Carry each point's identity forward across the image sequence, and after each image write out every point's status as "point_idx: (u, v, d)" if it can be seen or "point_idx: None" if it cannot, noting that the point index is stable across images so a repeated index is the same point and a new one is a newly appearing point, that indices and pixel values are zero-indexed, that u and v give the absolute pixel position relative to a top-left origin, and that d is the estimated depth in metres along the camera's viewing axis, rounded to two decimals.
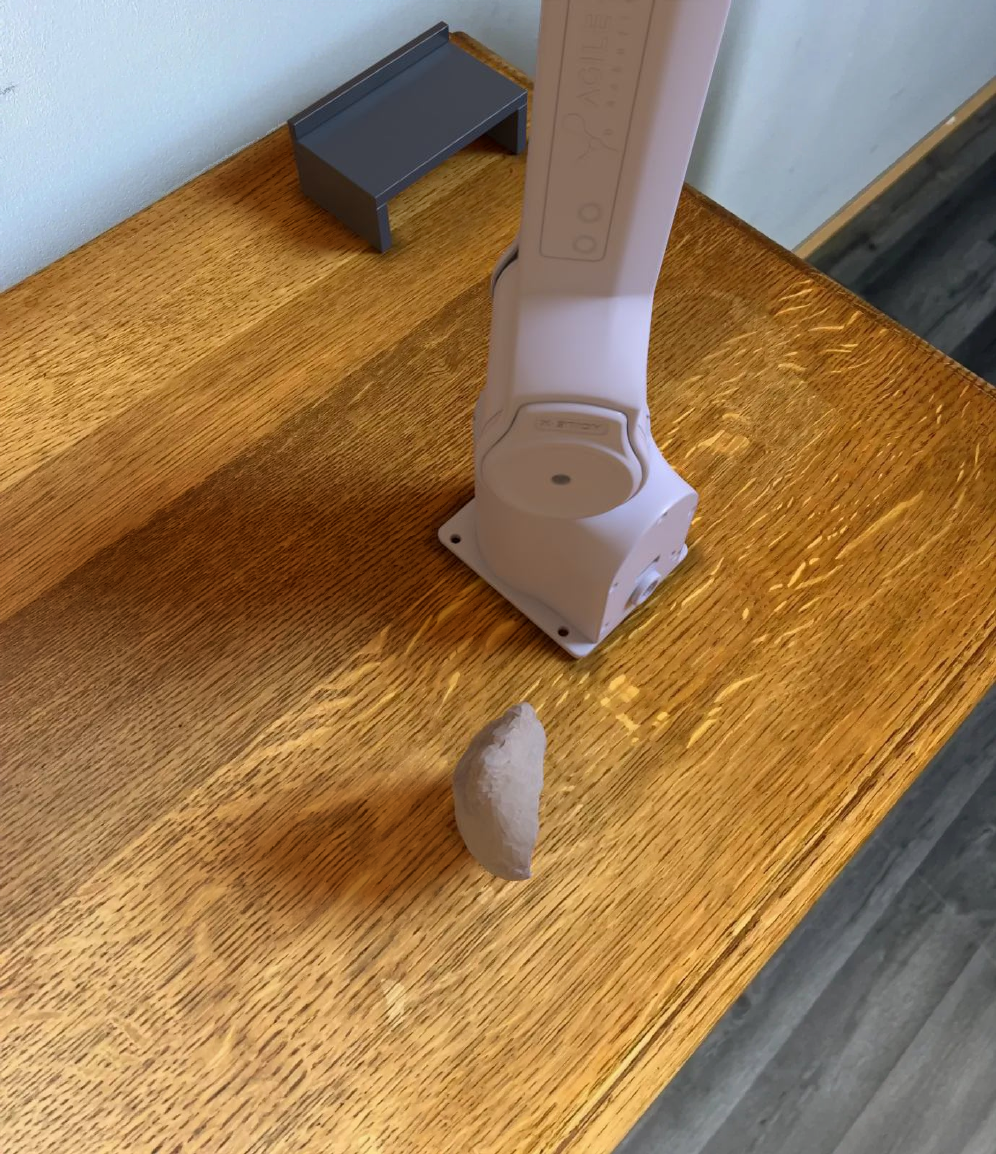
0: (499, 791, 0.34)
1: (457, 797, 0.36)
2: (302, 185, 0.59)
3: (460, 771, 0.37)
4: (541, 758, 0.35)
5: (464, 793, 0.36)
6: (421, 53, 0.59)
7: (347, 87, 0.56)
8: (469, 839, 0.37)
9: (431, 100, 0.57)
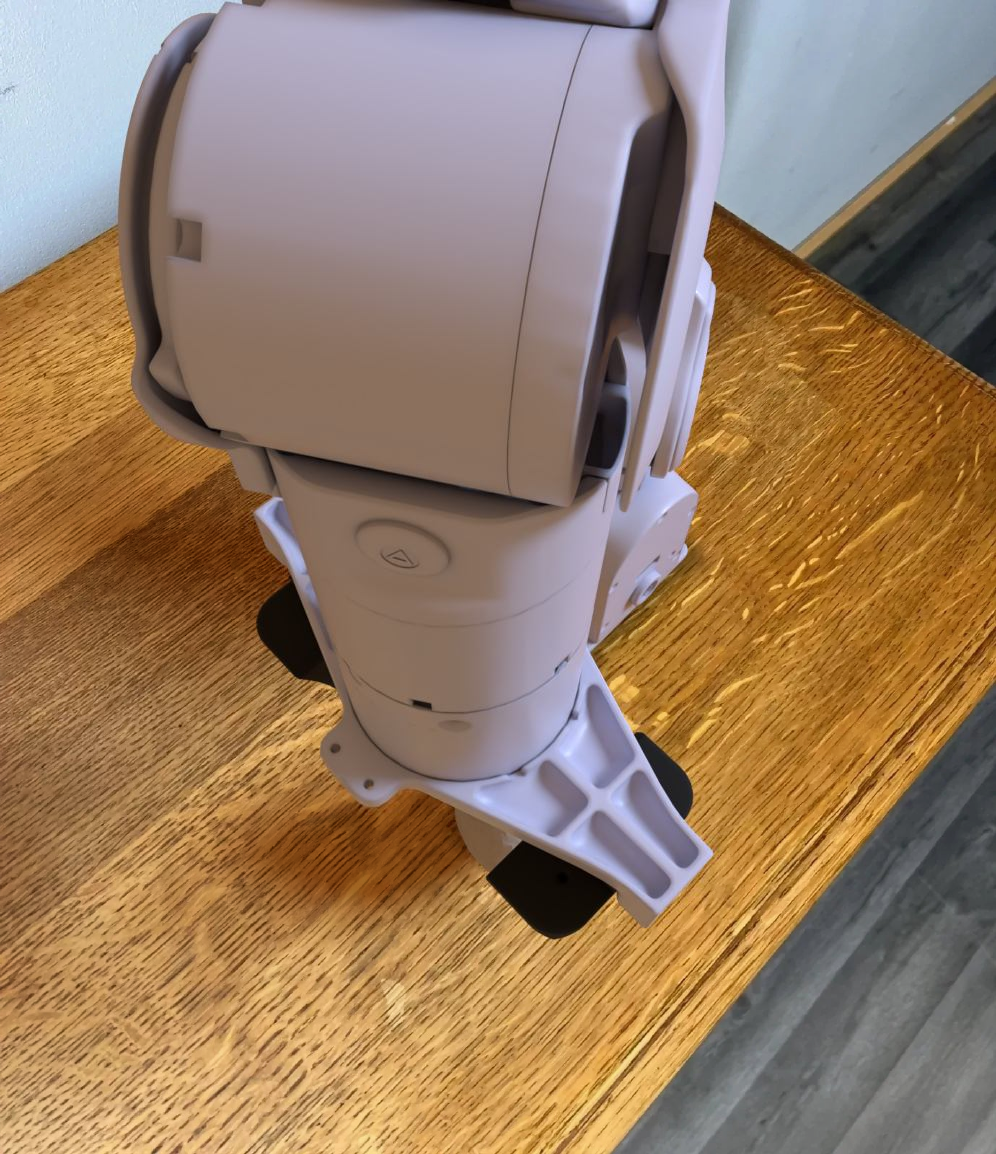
0: None
1: None
2: None
3: None
4: None
5: None
6: None
7: None
8: (469, 839, 0.37)
9: None
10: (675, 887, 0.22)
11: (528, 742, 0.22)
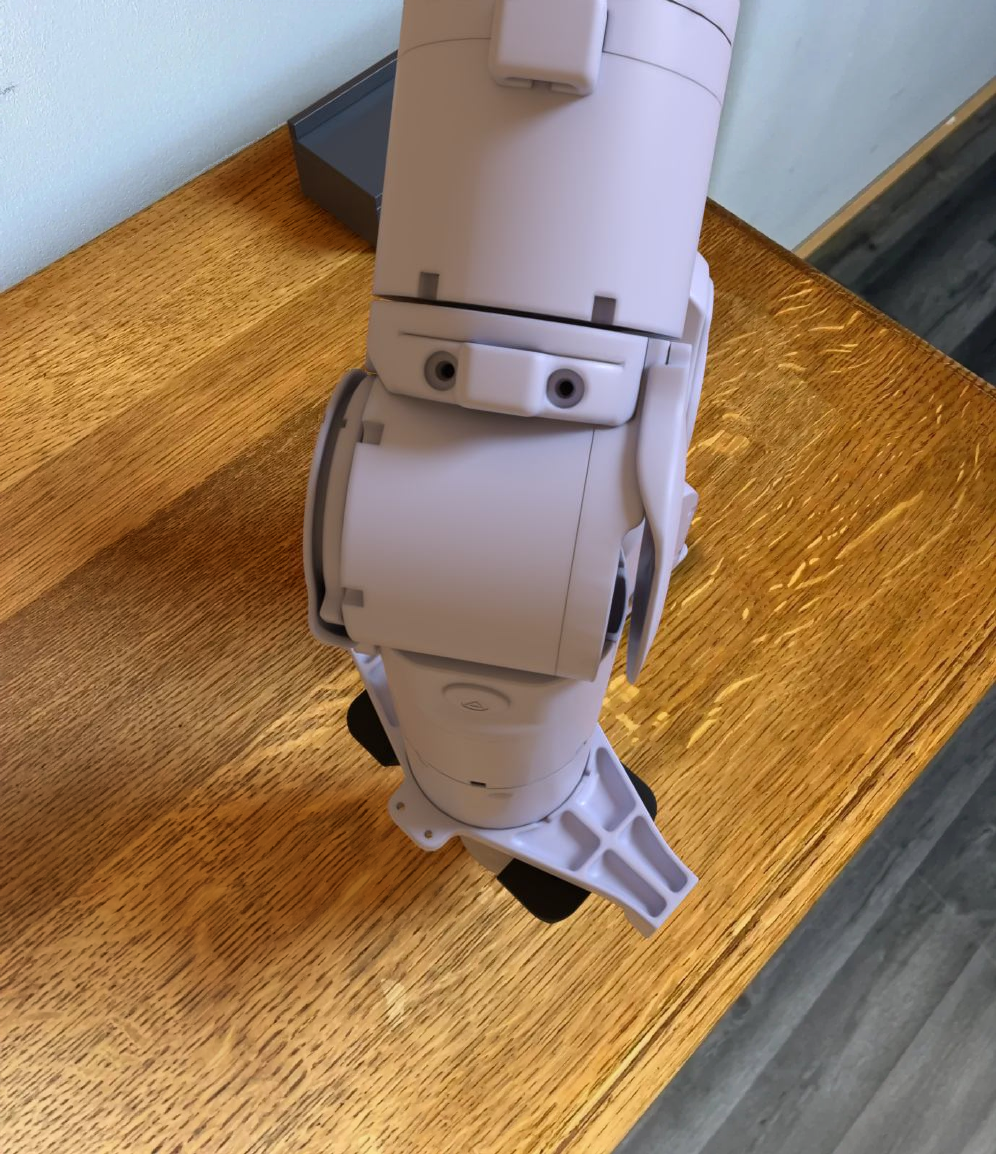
0: None
1: None
2: (302, 185, 0.59)
3: None
4: None
5: None
6: None
7: (347, 87, 0.56)
8: None
9: None
10: (670, 907, 0.29)
11: (553, 800, 0.29)
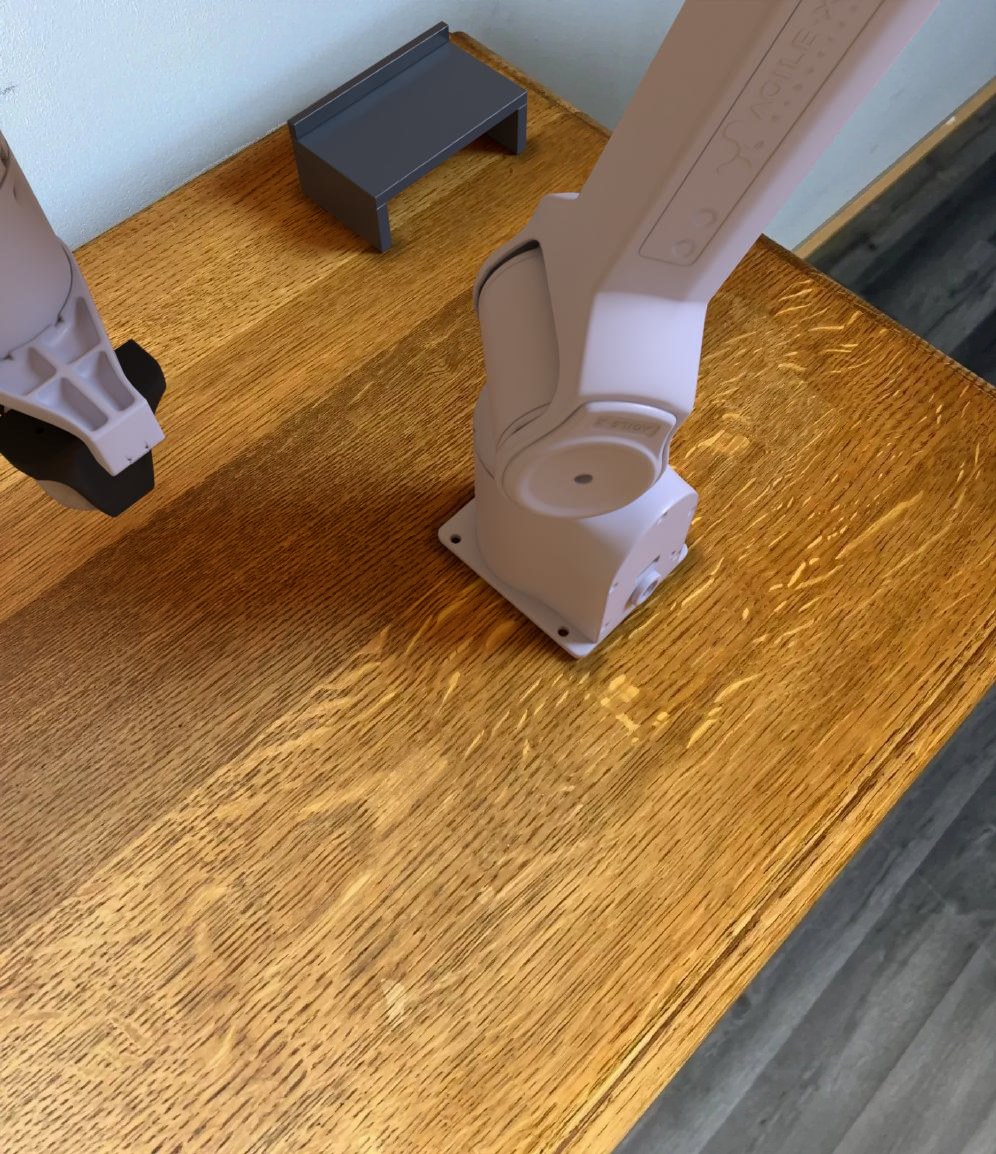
0: None
1: None
2: (302, 185, 0.59)
3: None
4: None
5: None
6: (421, 53, 0.59)
7: (347, 87, 0.56)
8: None
9: (431, 100, 0.57)
10: (110, 423, 0.29)
11: None
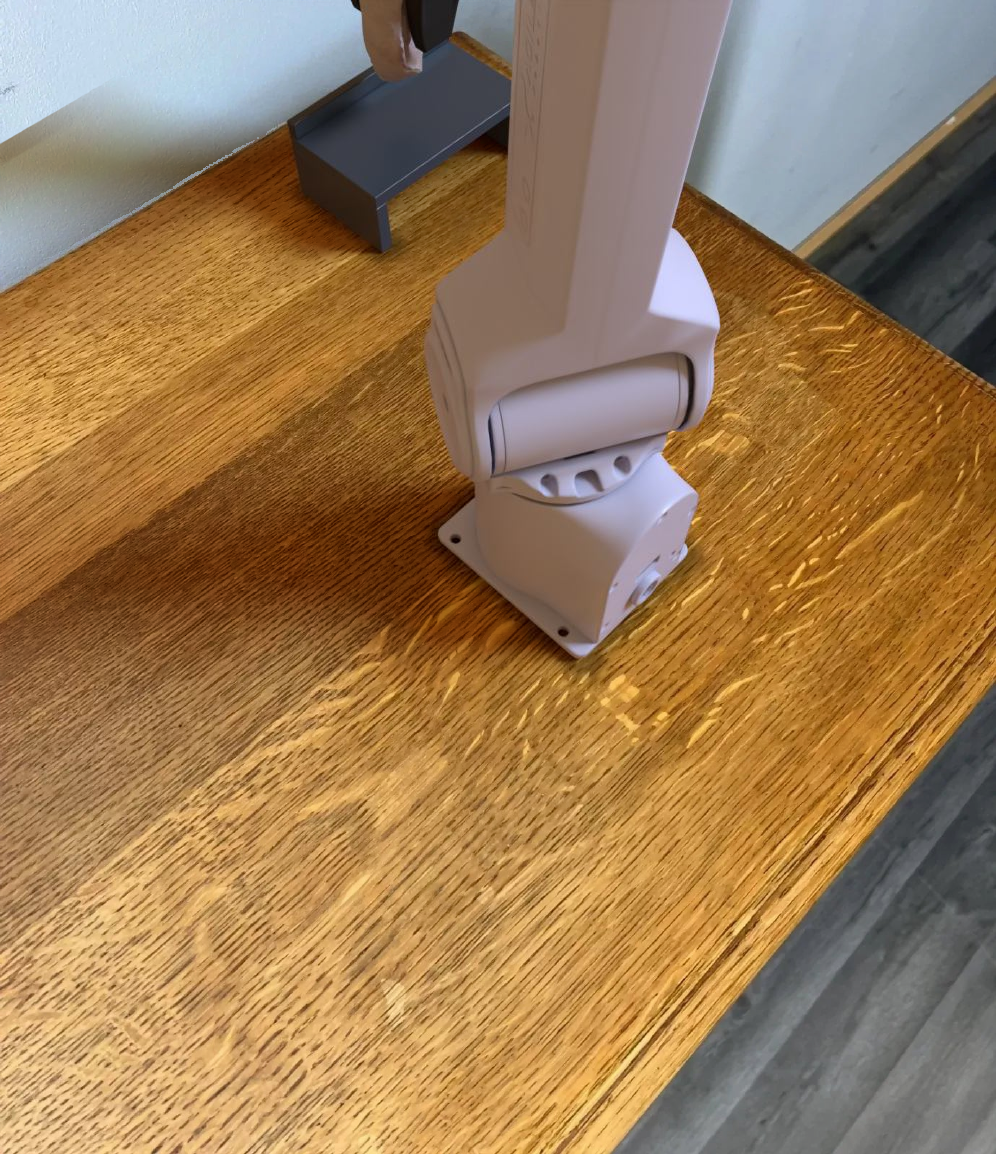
0: None
1: None
2: (302, 185, 0.59)
3: None
4: None
5: None
6: None
7: (347, 87, 0.56)
8: None
9: (431, 100, 0.57)
10: None
11: None
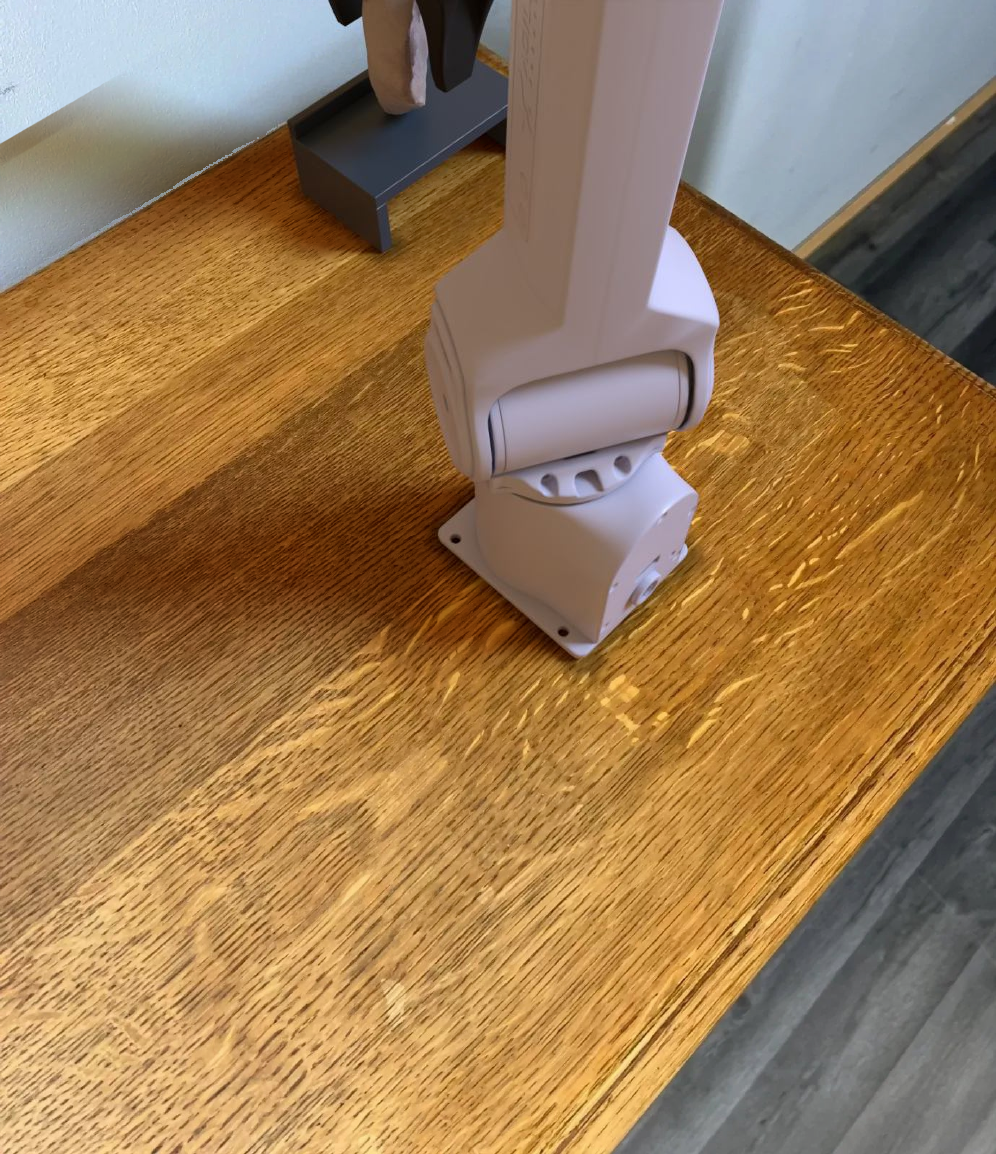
0: None
1: (363, 2, 0.51)
2: (302, 185, 0.59)
3: None
4: None
5: None
6: None
7: (347, 87, 0.56)
8: (366, 37, 0.51)
9: (431, 100, 0.57)
10: None
11: None
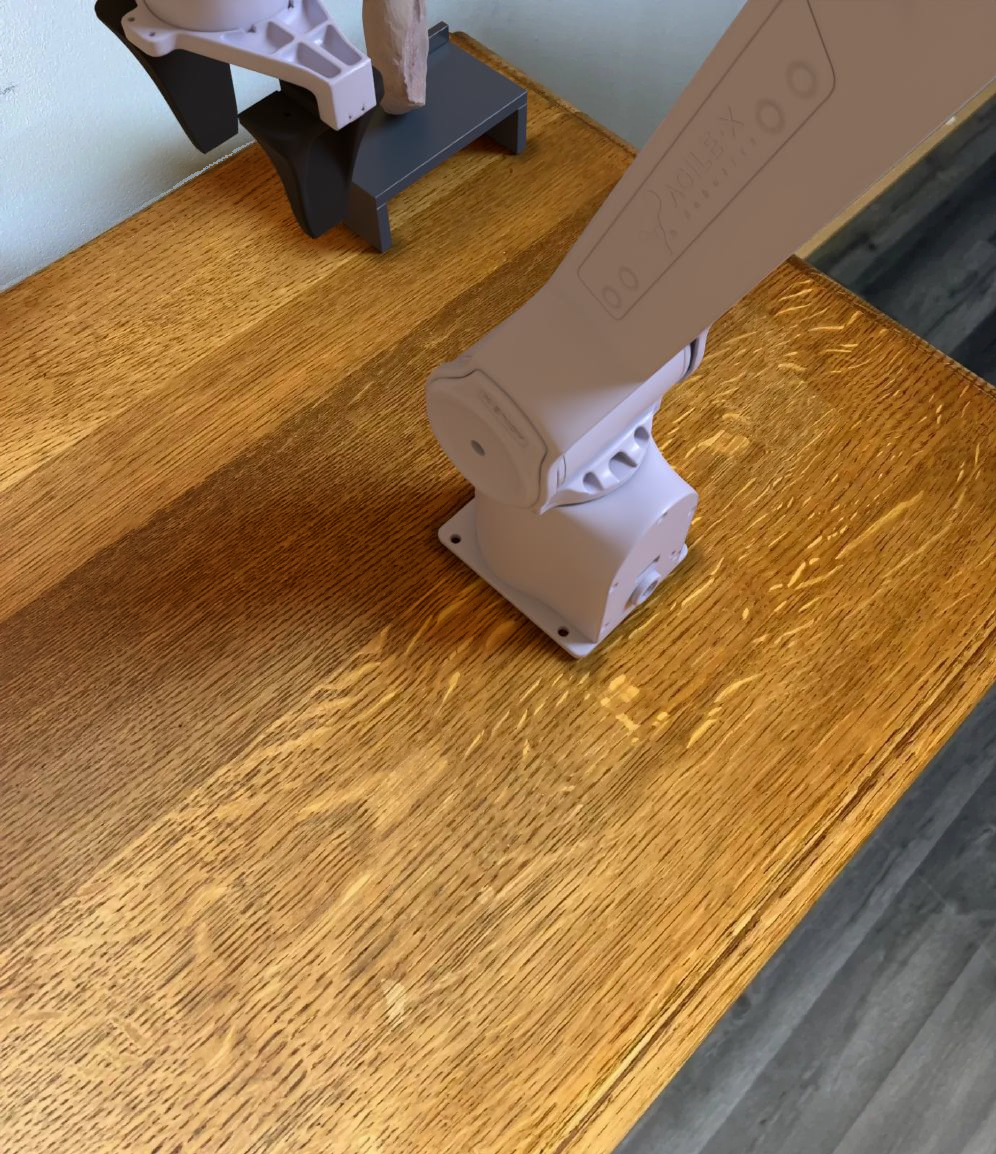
0: None
1: (363, 2, 0.51)
2: None
3: None
4: None
5: None
6: None
7: None
8: (366, 37, 0.51)
9: (431, 100, 0.57)
10: (343, 73, 0.35)
11: None
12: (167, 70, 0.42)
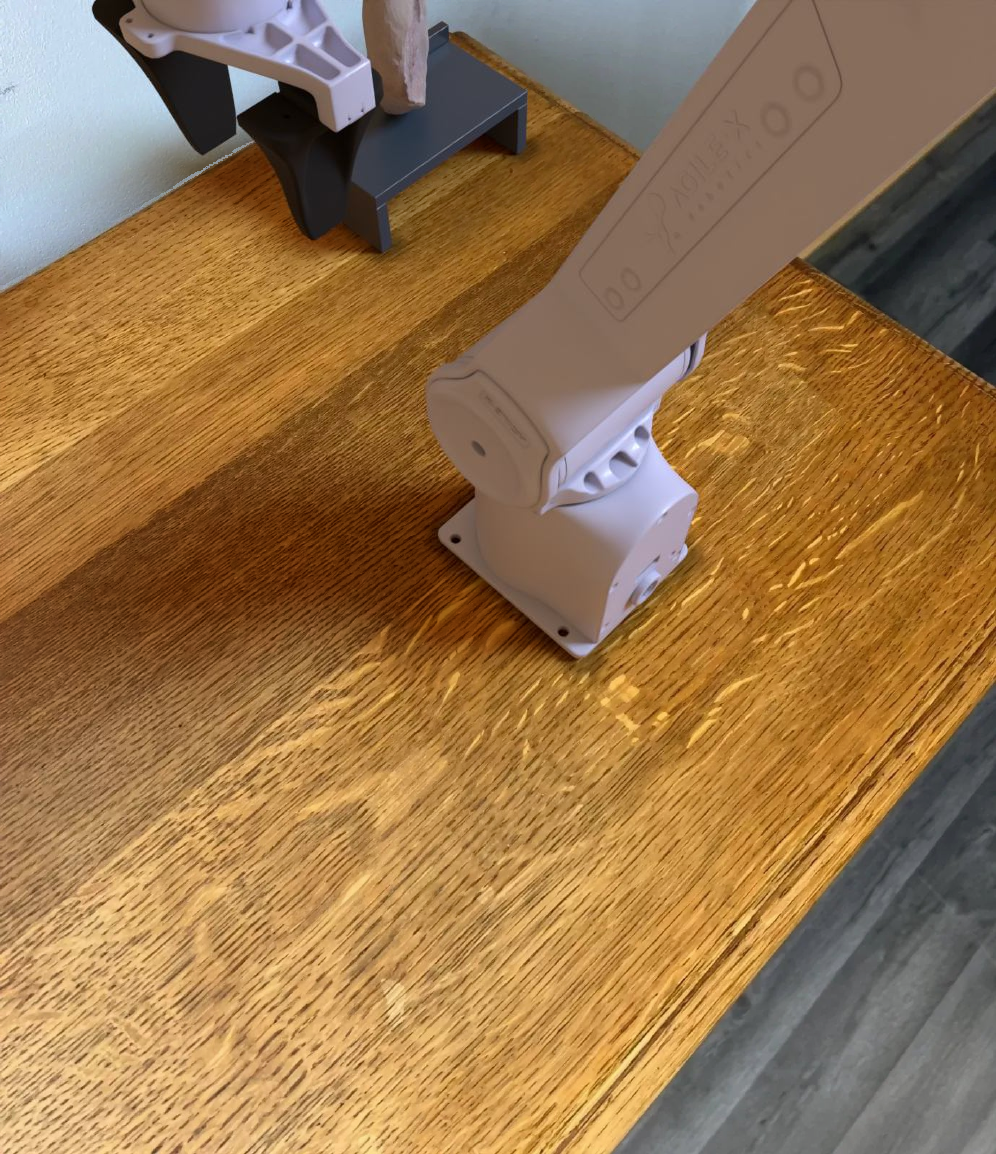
0: None
1: (363, 2, 0.51)
2: None
3: None
4: None
5: None
6: None
7: None
8: (366, 37, 0.51)
9: (431, 100, 0.57)
10: (342, 75, 0.35)
11: None
12: (165, 71, 0.42)
